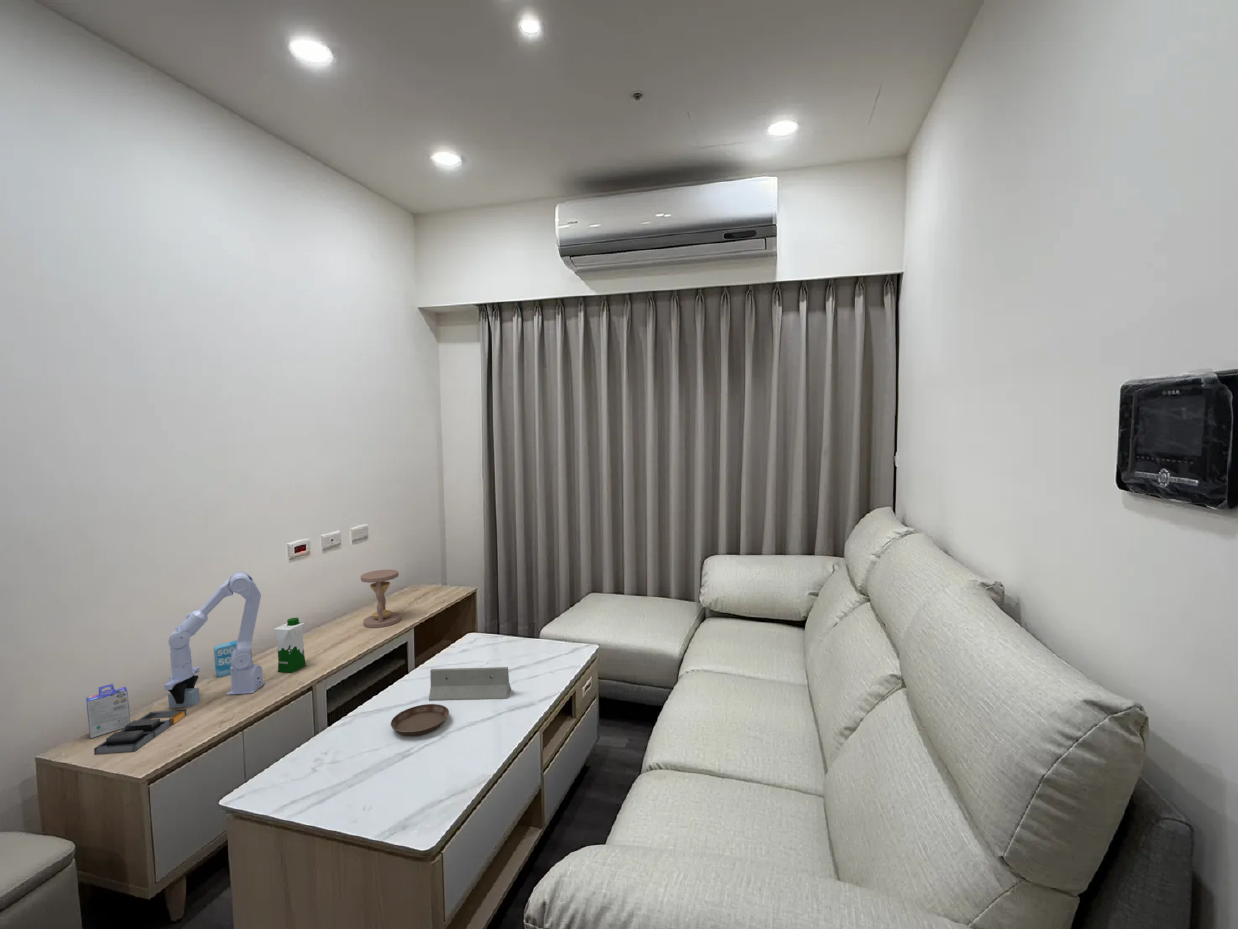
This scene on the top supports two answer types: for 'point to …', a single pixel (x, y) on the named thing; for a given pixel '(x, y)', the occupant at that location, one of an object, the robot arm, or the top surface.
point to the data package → (224, 658)
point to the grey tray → (139, 732)
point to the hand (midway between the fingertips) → (184, 700)
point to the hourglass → (380, 598)
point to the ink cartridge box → (108, 710)
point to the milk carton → (290, 646)
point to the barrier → (469, 684)
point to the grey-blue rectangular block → (186, 698)
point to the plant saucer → (420, 720)
